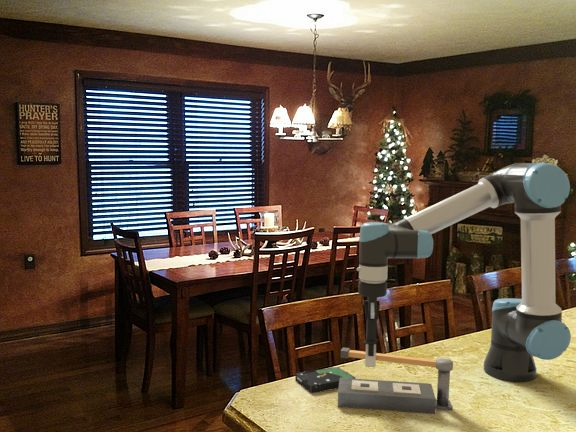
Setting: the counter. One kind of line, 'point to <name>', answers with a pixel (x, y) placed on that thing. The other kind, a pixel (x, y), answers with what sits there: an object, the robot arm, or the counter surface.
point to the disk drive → (321, 379)
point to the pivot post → (443, 391)
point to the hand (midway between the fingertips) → (370, 366)
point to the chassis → (386, 395)
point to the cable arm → (401, 359)
